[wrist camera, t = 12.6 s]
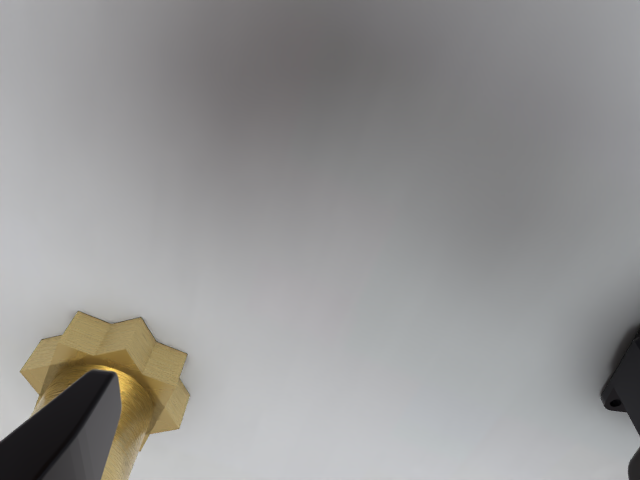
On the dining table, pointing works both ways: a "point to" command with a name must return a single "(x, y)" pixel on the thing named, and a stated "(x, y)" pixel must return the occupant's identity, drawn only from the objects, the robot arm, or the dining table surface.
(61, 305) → the dining table surface
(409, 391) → the dining table surface
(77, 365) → the red-topped star-based cylinder
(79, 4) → the dining table surface
